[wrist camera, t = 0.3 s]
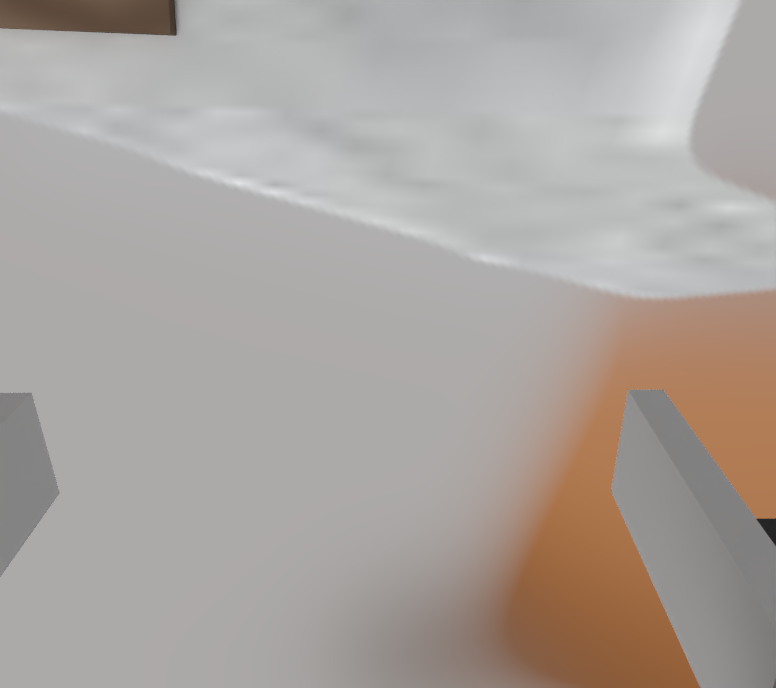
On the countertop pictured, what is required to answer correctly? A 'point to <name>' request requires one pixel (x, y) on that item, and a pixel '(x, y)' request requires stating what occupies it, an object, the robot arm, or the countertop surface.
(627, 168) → the countertop surface
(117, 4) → the board
